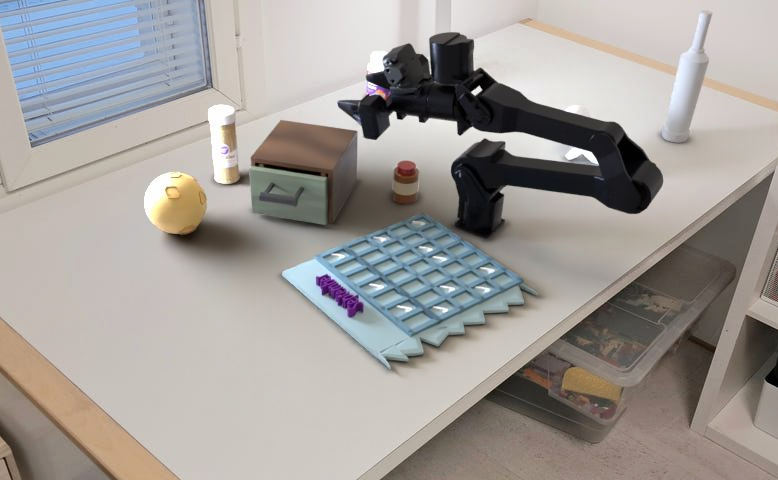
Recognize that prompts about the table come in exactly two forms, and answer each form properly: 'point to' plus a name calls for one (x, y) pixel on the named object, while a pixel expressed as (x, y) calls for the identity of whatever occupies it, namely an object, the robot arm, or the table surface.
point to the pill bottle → (375, 67)
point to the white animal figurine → (576, 151)
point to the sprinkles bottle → (224, 143)
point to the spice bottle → (405, 182)
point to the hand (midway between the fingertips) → (352, 90)
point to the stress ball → (175, 203)
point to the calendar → (407, 287)
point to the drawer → (289, 193)
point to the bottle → (687, 85)
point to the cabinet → (314, 156)
